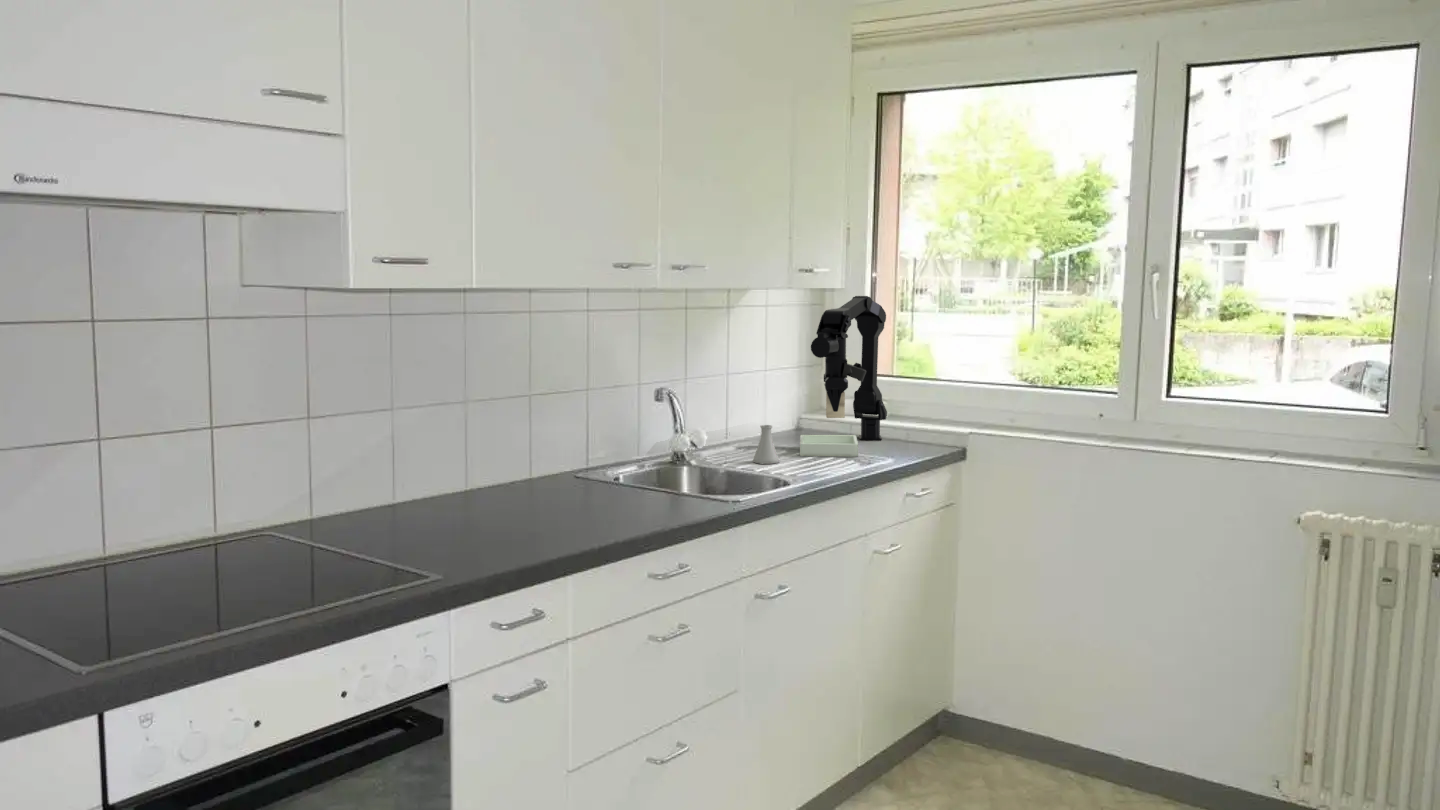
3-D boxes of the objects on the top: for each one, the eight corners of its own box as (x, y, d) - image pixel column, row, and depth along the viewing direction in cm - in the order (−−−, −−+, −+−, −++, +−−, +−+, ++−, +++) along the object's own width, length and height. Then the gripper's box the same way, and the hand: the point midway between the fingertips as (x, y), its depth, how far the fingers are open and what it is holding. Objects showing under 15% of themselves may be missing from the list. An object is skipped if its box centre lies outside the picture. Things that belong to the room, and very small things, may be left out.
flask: (748, 461, 305) (748, 424, 304) (772, 459, 308) (772, 423, 307) (760, 465, 299) (760, 428, 297) (784, 463, 302) (784, 426, 300)
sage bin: (800, 446, 327) (800, 434, 327) (855, 447, 326) (855, 435, 326) (800, 456, 312) (800, 444, 311) (858, 456, 310) (858, 444, 310)
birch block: (826, 415, 320) (826, 391, 319) (843, 415, 319) (844, 391, 319) (826, 417, 315) (826, 393, 314) (844, 418, 314) (844, 393, 314)
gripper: (866, 357, 305) (866, 414, 307) (862, 352, 324) (862, 406, 326) (825, 358, 306) (825, 414, 308) (823, 352, 324) (823, 405, 326)
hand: (835, 410), depth 317 cm, fingers closed on birch block, 5 cm apart
